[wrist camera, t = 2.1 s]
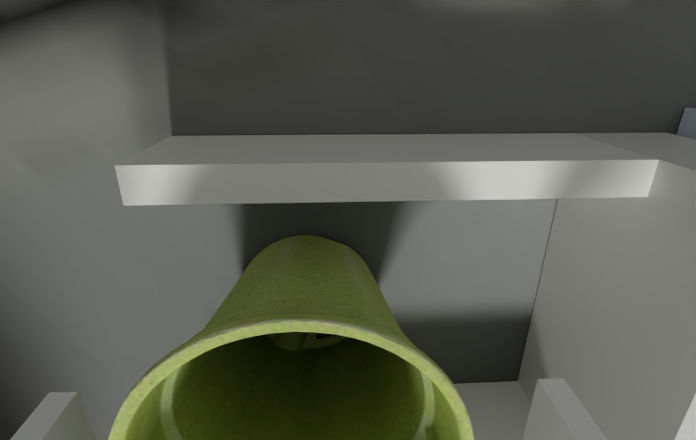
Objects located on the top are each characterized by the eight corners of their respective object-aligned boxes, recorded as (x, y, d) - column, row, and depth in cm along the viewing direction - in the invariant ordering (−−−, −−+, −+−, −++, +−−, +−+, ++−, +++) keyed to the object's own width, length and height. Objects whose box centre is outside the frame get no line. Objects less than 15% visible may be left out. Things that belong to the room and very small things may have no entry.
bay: (217, 411, 21) (158, 607, 13) (171, 135, 15) (28, 210, 8) (584, 394, 22) (717, 567, 14) (665, 132, 16) (949, 195, 9)
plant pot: (161, 251, 17) (17, 422, 9) (358, 158, 16) (394, 258, 8) (268, 394, 20) (234, 611, 12) (436, 325, 19) (516, 513, 11)
